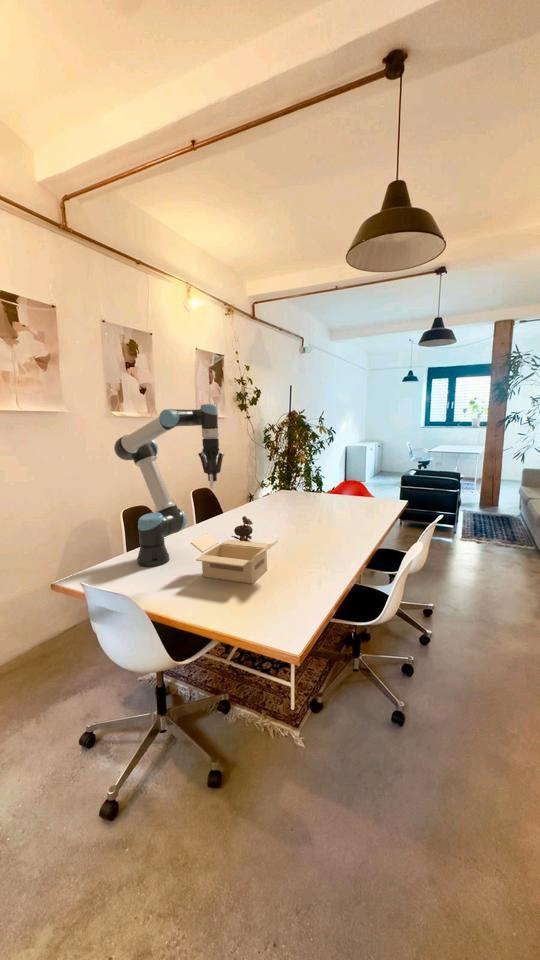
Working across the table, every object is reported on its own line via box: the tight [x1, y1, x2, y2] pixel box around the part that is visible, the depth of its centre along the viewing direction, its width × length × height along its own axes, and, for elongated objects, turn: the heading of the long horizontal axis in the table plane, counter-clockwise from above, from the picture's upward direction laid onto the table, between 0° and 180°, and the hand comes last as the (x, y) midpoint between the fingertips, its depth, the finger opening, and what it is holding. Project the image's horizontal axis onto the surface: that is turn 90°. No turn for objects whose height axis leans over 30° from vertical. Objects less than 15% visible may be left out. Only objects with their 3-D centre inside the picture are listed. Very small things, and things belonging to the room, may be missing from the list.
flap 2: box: [252, 540, 279, 559], centre depth 162 cm, size 1×14×7 cm
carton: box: [195, 539, 271, 585], centre depth 169 cm, size 24×28×10 cm
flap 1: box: [190, 533, 219, 554], centre depth 174 cm, size 1×14×7 cm
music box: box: [231, 515, 254, 542], centre depth 194 cm, size 15×11×20 cm
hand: (212, 487), depth 181 cm, fingers closed
